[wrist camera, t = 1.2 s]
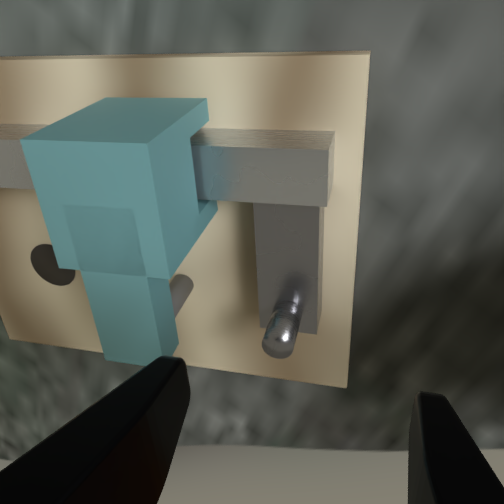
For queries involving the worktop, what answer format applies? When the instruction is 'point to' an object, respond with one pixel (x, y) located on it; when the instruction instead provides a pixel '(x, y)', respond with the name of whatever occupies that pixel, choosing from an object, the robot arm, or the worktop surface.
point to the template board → (229, 212)
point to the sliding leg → (124, 213)
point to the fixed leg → (288, 273)
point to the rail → (225, 164)
